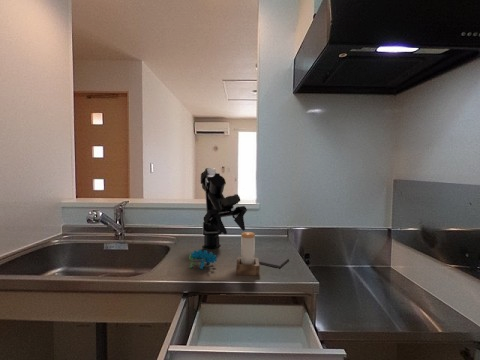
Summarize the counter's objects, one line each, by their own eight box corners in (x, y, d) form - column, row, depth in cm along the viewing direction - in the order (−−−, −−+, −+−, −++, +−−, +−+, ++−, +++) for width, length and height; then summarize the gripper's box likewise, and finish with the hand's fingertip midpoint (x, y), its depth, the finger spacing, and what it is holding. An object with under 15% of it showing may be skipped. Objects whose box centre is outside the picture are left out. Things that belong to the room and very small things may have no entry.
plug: (238, 271, 102) (238, 234, 101) (245, 267, 106) (245, 231, 105) (250, 274, 100) (250, 236, 99) (256, 270, 104) (257, 233, 103)
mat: (256, 262, 111) (256, 260, 111) (266, 255, 120) (266, 254, 120) (279, 267, 106) (279, 265, 106) (288, 260, 115) (288, 258, 115)
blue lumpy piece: (221, 260, 109) (211, 247, 103) (218, 274, 106) (208, 262, 99) (195, 260, 113) (185, 248, 106) (192, 274, 109) (181, 263, 102)
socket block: (236, 275, 99) (236, 265, 99) (236, 266, 107) (236, 257, 107) (259, 275, 99) (259, 265, 99) (258, 266, 107) (258, 257, 107)
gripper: (207, 189, 104) (226, 223, 97) (244, 186, 117) (263, 216, 109) (196, 207, 111) (212, 240, 103) (232, 203, 123) (249, 232, 115)
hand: (235, 231), depth 107 cm, fingers open, 9 cm apart
